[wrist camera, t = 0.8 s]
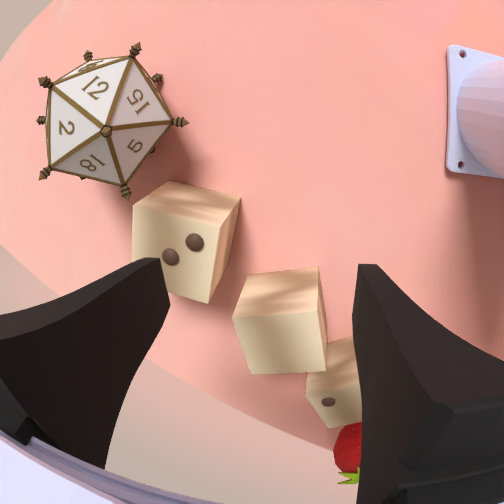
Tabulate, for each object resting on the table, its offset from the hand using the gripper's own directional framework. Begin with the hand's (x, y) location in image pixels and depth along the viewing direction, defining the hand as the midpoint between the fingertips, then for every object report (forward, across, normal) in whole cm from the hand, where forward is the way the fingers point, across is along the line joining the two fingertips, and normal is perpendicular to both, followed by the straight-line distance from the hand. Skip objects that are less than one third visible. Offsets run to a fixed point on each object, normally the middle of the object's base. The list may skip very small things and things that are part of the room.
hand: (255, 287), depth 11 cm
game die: (+11, +9, -6) cm, 15 cm away
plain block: (+10, 0, +8) cm, 13 cm away
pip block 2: (+10, -5, +14) cm, 18 cm away
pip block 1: (+11, +6, +2) cm, 12 cm away
